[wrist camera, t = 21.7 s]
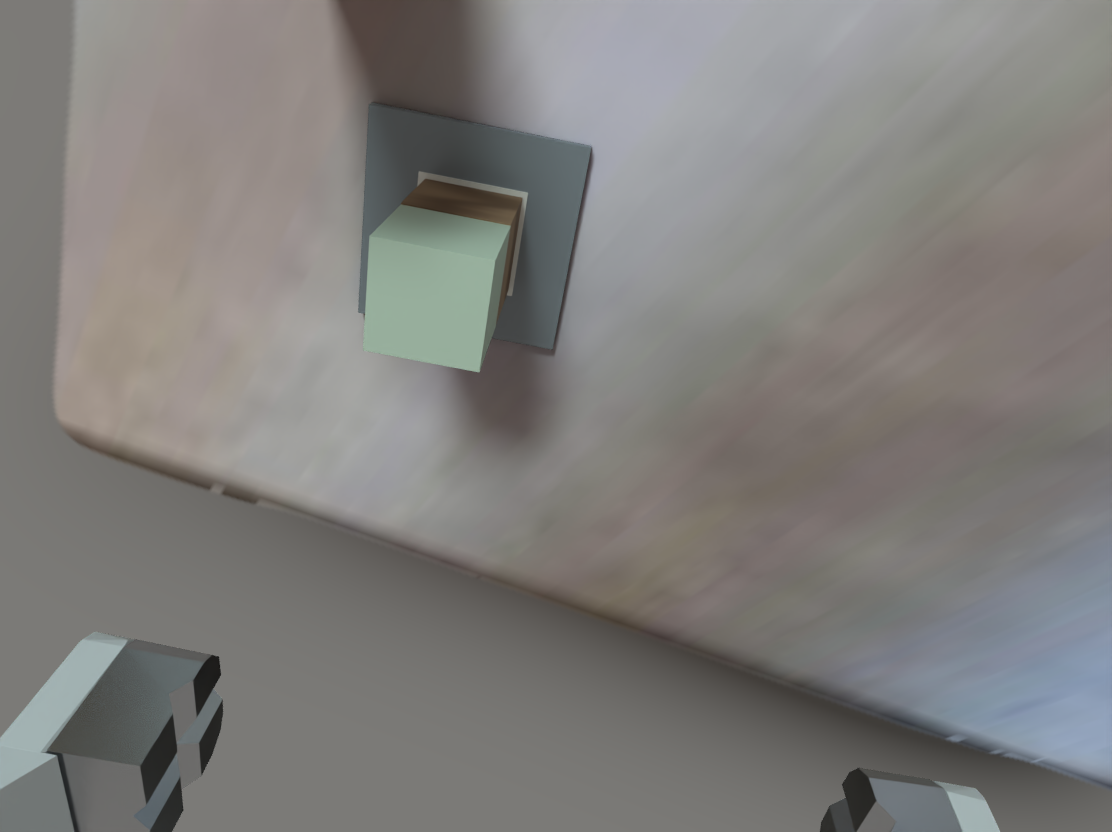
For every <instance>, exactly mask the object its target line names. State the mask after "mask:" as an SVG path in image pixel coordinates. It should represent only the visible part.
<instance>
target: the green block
mask: <svg viewBox="0 0 1112 832" xmlns="http://www.w3.org/2000/svg"><path fill="white" fill-rule="evenodd" d="M510 227H511V226H509V225H504V224H499V223H494V222H488V221H483V220H478V219H473V218H468V217H463V216H458V215H453V214H448V213H442V212H437V211H432V210H427V209H422V208H417V207H412V206H407V205H402V204H401V205H400V206H399V207H398V208H397V209H396V210H395V211H394V212H393V213H392V214H391V215H390V216H389V217H388V218H387V219H386V220H385V221H384V222H383V223H382V224H381V225H380V226H379V227H378V228H377V229H376V230H375V231H374V232H373V233H372V234H371V235H370V236H369V253H368V271H367V289H366V306H365V324H364V342H363V350H364V351H369V352H374V353H379V354H385V355H390V356H395V357H400V358H406V359H411V360H416V361H421V362H427V363H432V364H437V365H442V366H448V367H453V368H458V369H463V370H469V371H474V372H480V369H481V367H482V364H483V361H484V358H485V355H486V353H487V350H488V347H489V344H490V341H491V338H492V336H493V333H494V330H495V327H496V321H497V314H498V307H499V301H500V294H501V287H502V281H503V274H504V267H505V261H506V254H507V247H508V240H509V234H510Z"/></svg>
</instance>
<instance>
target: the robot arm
mask: <svg viewBox="0 0 1112 832" xmlns="http://www.w3.org/2000/svg"><path fill="white" fill-rule="evenodd" d="M220 676H221V669H220V661H219V656H214V655H210V654H205V653H200V652H195V651H190V650H185V649H181V648H176V647H171V646H166V645H161V644H156V643H151V642H146V641H142V640H137V639H131V638H125V637H121V636H115V635H110V634H105V633H99V632H94V633H92V634H90V635H89V636H88V637H86V638H84V639H83V640H81V641H80V642H79V643H78V645H77V646H76V647H75V648H74V649H73V651H72V652H71V653H70V654H69V655H68V657H67V658H66V659H65V660H64V661H63V663H62V664H61V665H60V666H59V668H58V669H57V670H56V671H55V672H54V674H53V675H52V676H51V677H50V678H49V680H48V681H47V682H46V683H45V684H44V686H43V687H42V688H41V689H40V691H39V692H38V693H37V694H36V695H35V697H34V698H33V699H32V700H31V701H30V703H29V704H28V705H27V706H26V707H25V709H24V710H23V711H22V712H21V713H20V715H19V716H18V717H17V718H16V720H15V721H14V722H13V723H12V724H11V726H10V727H9V728H8V729H7V731H6V732H5V733H4V734H3V735H2V736H1V738H0V832H172V831H173V829H174V827H175V825H176V823H177V821H178V820H179V818H180V816H181V813H182V812H183V800H182V789H183V788H184V787H186V786H188V785H189V784H190V783H192V782H193V781H195V780H196V779H198V778H199V777H201V776H202V774H203V772H204V770H205V768H206V766H207V764H208V762H209V760H210V758H211V756H212V754H213V751H214V748H215V745H216V742H217V739H218V736H219V733H220V730H221V724H222V717H223V700H222V698H221V697H220V696H219V695H218V694H217V692H216V691H215V690H214V689H213V688H214V687H215V685H216V683H217V681H218V679H219V678H220ZM842 786H843V790H844V793H845V797H846V798H844V799H842V800H840V801H838V802H836V803H834V804H832V805H830V806H829V808H828V810H827V812H826V814H825V816H824V818H823V820H822V822H821V828H820V832H1000V830H999V828H998V826H997V824H996V822H995V819H994V817H993V815H992V813H991V811H990V809H989V807H988V805H987V803H986V801H985V798H984V797H983V796H982V795H981V794H980V793H979V792H978V791H977V789H976V788H971V787H965V786H960V785H954V784H948V783H943V782H936V781H932V780H930V779H925V778H919V777H912V776H906V775H900V774H893V773H888V772H881V771H875V770H869V769H863V768H857V769H855V770H853V771H851V772H849V774H848V775H847V777H846V779H845V780H844V782H843V784H842Z"/></svg>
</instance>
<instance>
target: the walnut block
mask: <svg viewBox="0 0 1112 832" xmlns="http://www.w3.org/2000/svg"><path fill="white" fill-rule="evenodd" d="M522 199H523V198H522V197H517V196H511V195H506V194H501V193H496V192H491V191H486V190H481V189H476V188H471V187H466V186H461V185H456V184H450V183H445V182H440V181H435V180H430V179H424V180H423V181H422V182H421V183H420V184H419V185H418V186H417V187H416V188H415V189H414V190H413V191H412V192H411V193H410V194H409V195H408V196H407V197H406V198H405V199H404V200H403V201H402V202H401V204H402V205H407V206H412V207H417V208H422V209H427V210H432V211H437V212H442V213H448V214H453V215H458V216H463V217H468V218H473V219H478V220H483V221H488V222H494V223H499V224H504V225H509V226H511V227H510V234H509V240H508V247H507V254H506V261H505V267H504V274H503V281H502V287H501V294H500V301H499V307H498V314H497V321H498V318H499V315H500V312H501V310H502V307H503V304H504V301H505V298H506V296H507V293H508V290H509V283H510V277H511V270H512V264H513V258H514V251H515V245H516V238H517V232H518V225H519V219H520V212H521V206H522ZM497 321H496V324H497Z"/></svg>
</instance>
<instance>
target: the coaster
mask: <svg viewBox="0 0 1112 832" xmlns="http://www.w3.org/2000/svg"><path fill="white" fill-rule="evenodd" d="M591 147H592V146H589V145H584V144H579V143H574V142H569V141H564V140H559V139H554V138H548V137H543V136H538V135H533V134H528V133H523V132H518V131H513V130H508V129H503V128H498V127H493V126H488V125H483V124H478V123H473V122H468V121H463V120H458V119H453V118H448V117H443V116H438V115H433V114H428V113H423V112H418V111H413V110H408V109H403V108H398V107H393V106H388V105H383V104H378V103H373V102H372V103H370V104H369V113H368V132H367V152H366V171H365V191H364V211H363V230H362V250H361V269H360V289H359V308H358V312H359V313H364V314H365V306H366V289H367V271H368V253H369V236H370V235H371V234H372V233H373V232H374V231H375V230H376V229H377V228H378V227H379V226H380V225H381V224H382V223H383V222H384V221H385V220H386V219H387V218H388V217H389V216H390V215H391V214H392V213H393V212H394V211H395V210H396V209H397V208H398V207H399V206H400V205H401V202H402V201H403V200H404V199H405V198H406V197H407V196H408V195H409V194H410V193H411V192H412V191H413V190H414V189H415V188H416V187H417V186H418V185H419V184H420V183H421V182H422V181H423V180H424V179H430V180H435V181H440V182H445V183H450V184H456V185H461V186H466V187H471V188H476V189H481V190H486V191H491V192H496V193H501V194H506V195H511V196H517V197H522V198H523V199H522V206H521V212H520V219H519V225H518V232H517V238H516V245H515V251H514V258H513V264H512V270H511V277H510V283H509V290H508V293H507V296H506V298H505V301H504V304H503V307H502V310H501V312H500V315H499V318H498V321H497V324H496V327H495V330H494V333H493V336H492V338H494V339H500V340H505V341H510V342H515V343H520V344H526V345H531V346H536V347H541V348H547V349H552V350H553V344H554V339H555V334H556V329H557V324H558V318H559V313H560V308H561V303H562V298H563V292H564V287H565V282H566V277H567V272H568V267H569V261H570V256H571V251H572V246H573V241H574V235H575V230H576V225H577V220H578V215H579V209H580V204H581V199H582V194H583V189H584V183H585V178H586V173H587V168H588V163H589V158H590V152H591Z"/></svg>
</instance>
